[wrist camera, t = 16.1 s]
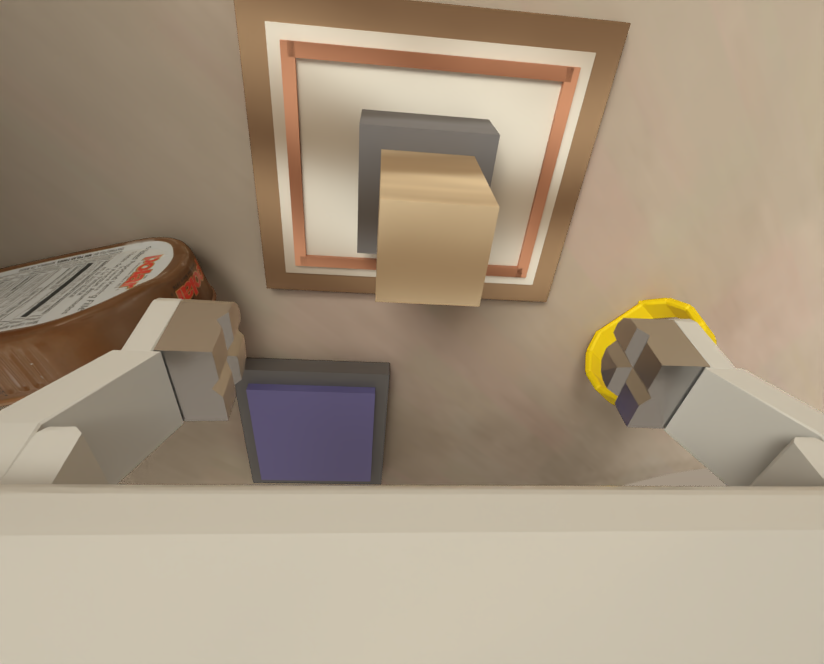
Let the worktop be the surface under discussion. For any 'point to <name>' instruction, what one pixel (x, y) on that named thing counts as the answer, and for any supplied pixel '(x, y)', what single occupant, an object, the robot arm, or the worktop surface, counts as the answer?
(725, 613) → the robot arm
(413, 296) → the stamp
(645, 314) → the watch
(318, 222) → the board
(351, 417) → the ink pad
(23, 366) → the tin
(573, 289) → the worktop surface
